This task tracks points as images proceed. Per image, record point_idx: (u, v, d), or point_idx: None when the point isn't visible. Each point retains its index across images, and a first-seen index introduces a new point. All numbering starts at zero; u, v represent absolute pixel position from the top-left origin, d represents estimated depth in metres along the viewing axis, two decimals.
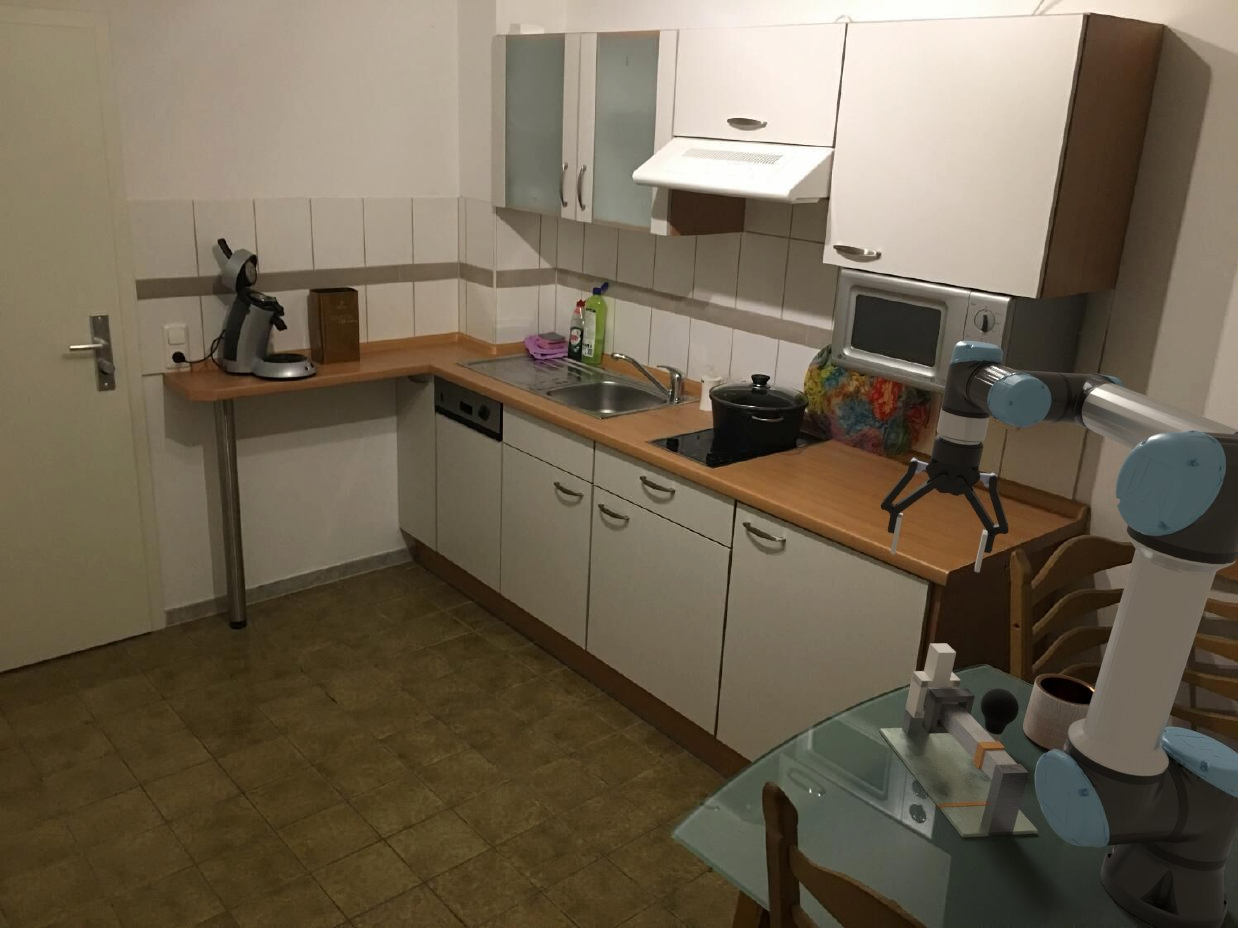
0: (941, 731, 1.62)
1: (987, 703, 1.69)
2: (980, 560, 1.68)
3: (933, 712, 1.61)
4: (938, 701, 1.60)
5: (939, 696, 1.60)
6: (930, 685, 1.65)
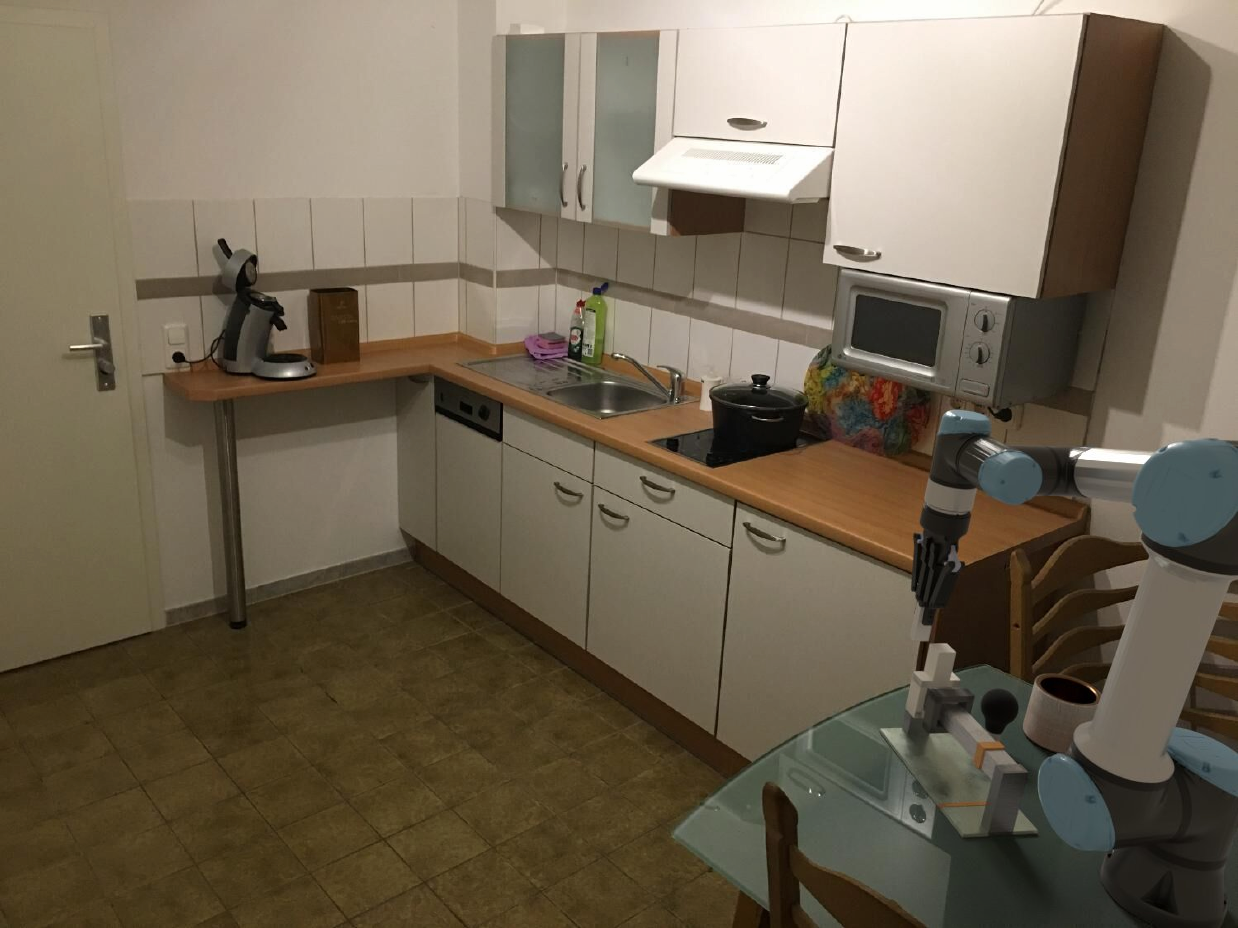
0: (941, 731, 1.62)
1: (987, 703, 1.69)
2: (915, 629, 1.71)
3: (933, 712, 1.61)
4: (938, 701, 1.60)
5: (939, 696, 1.60)
6: (930, 685, 1.65)
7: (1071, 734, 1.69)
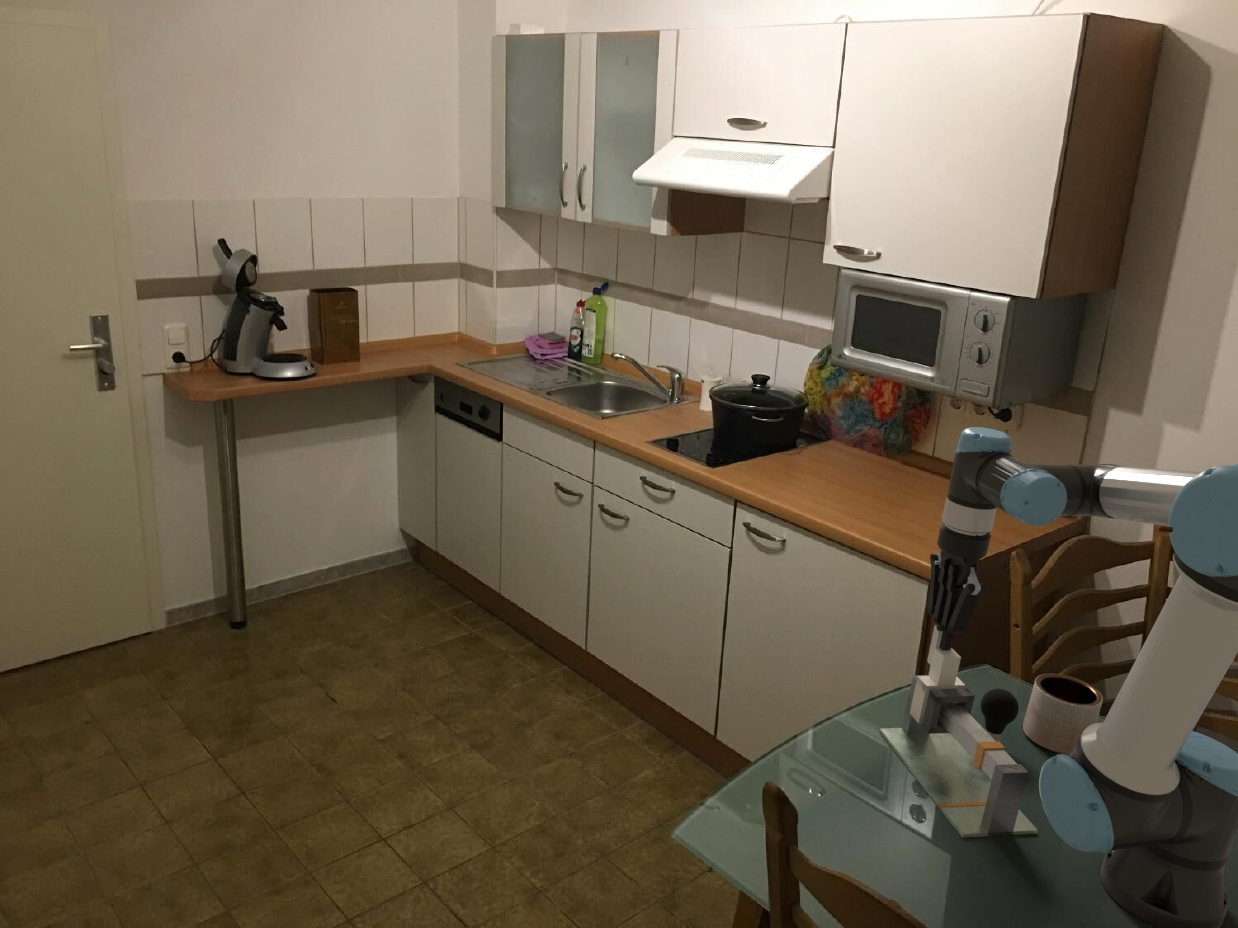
0: (941, 731, 1.62)
1: (987, 703, 1.69)
2: None
3: (933, 712, 1.61)
4: (938, 701, 1.60)
5: (939, 696, 1.60)
6: None
7: (1071, 733, 1.69)
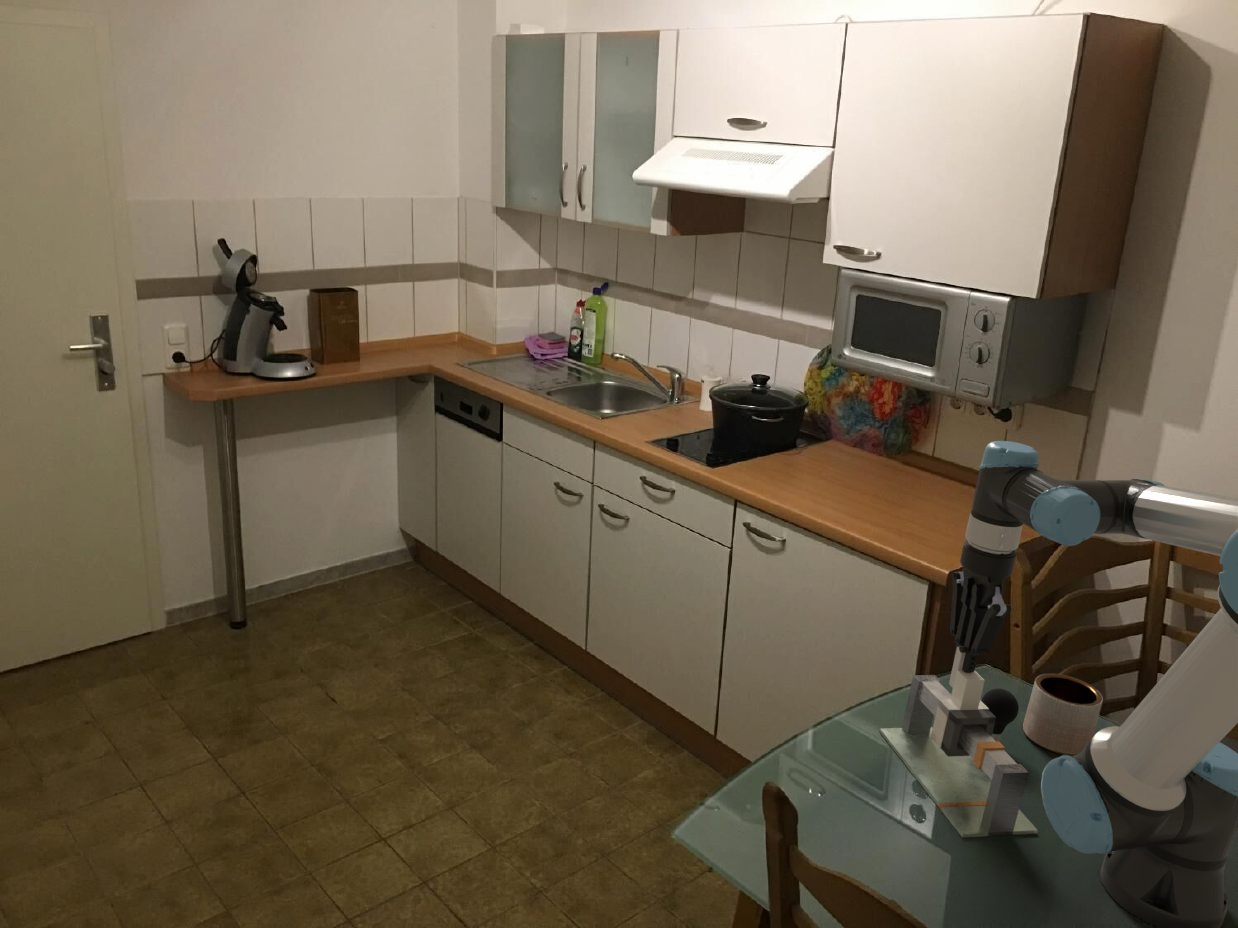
0: (961, 754, 1.57)
1: (987, 703, 1.69)
2: (955, 675, 1.59)
3: (952, 734, 1.55)
4: (958, 723, 1.55)
5: (959, 718, 1.55)
6: None
7: (1071, 733, 1.69)
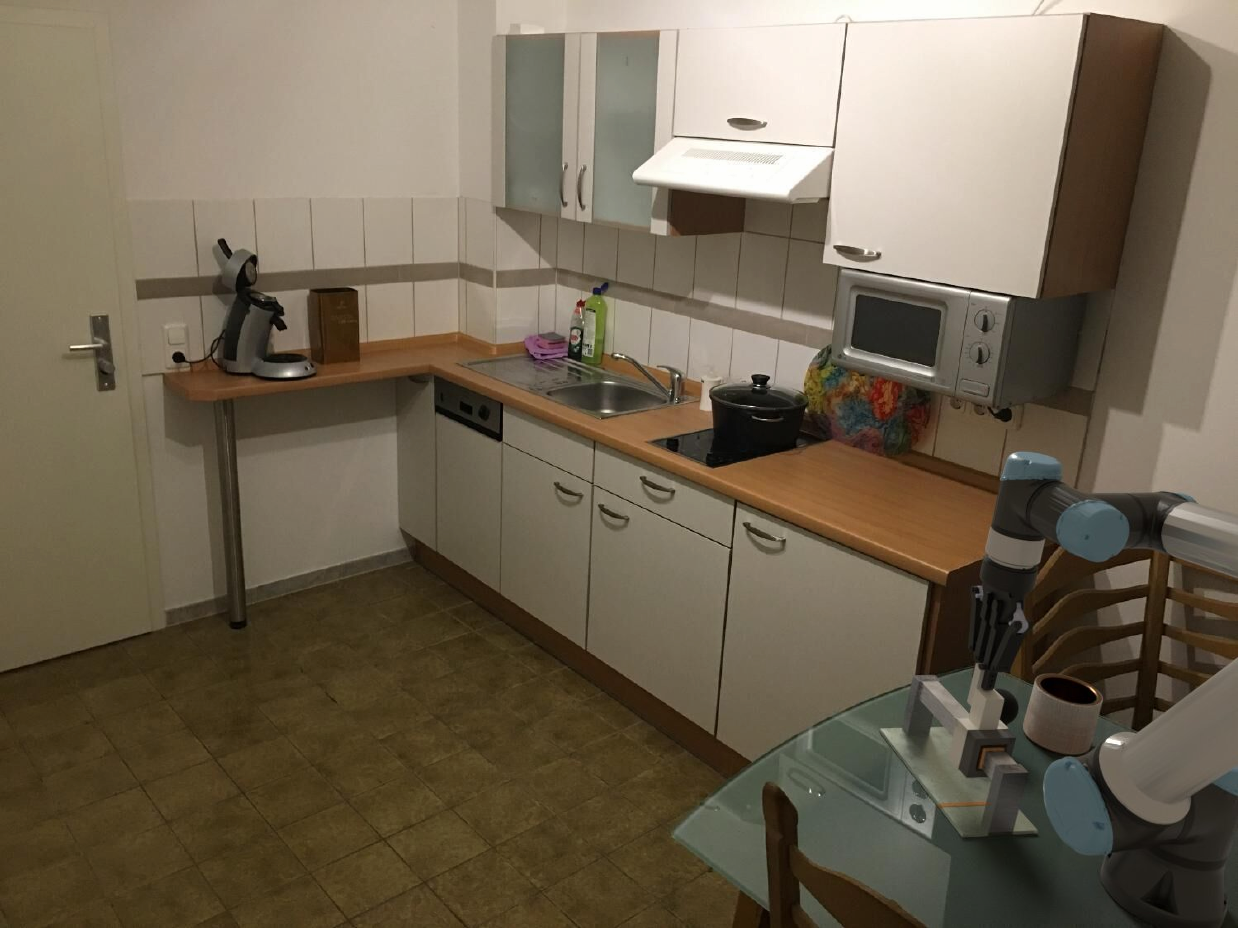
0: (980, 775, 1.52)
1: None
2: None
3: (971, 755, 1.50)
4: (977, 743, 1.50)
5: (978, 738, 1.50)
6: None
7: (1071, 733, 1.69)
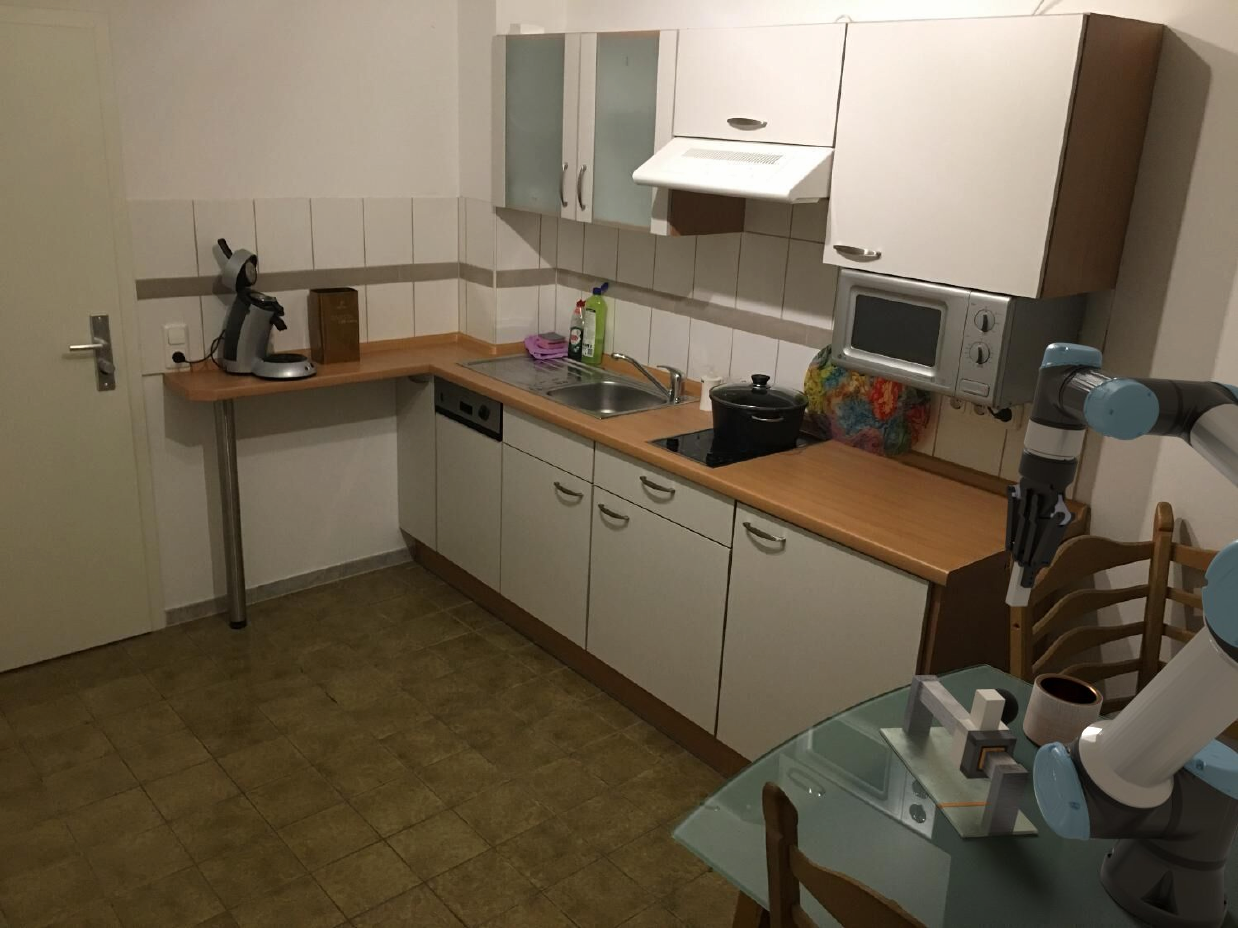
0: (981, 776, 1.52)
1: None
2: (1013, 592, 1.53)
3: (972, 756, 1.50)
4: (978, 744, 1.50)
5: (979, 739, 1.49)
6: None
7: (1071, 734, 1.69)
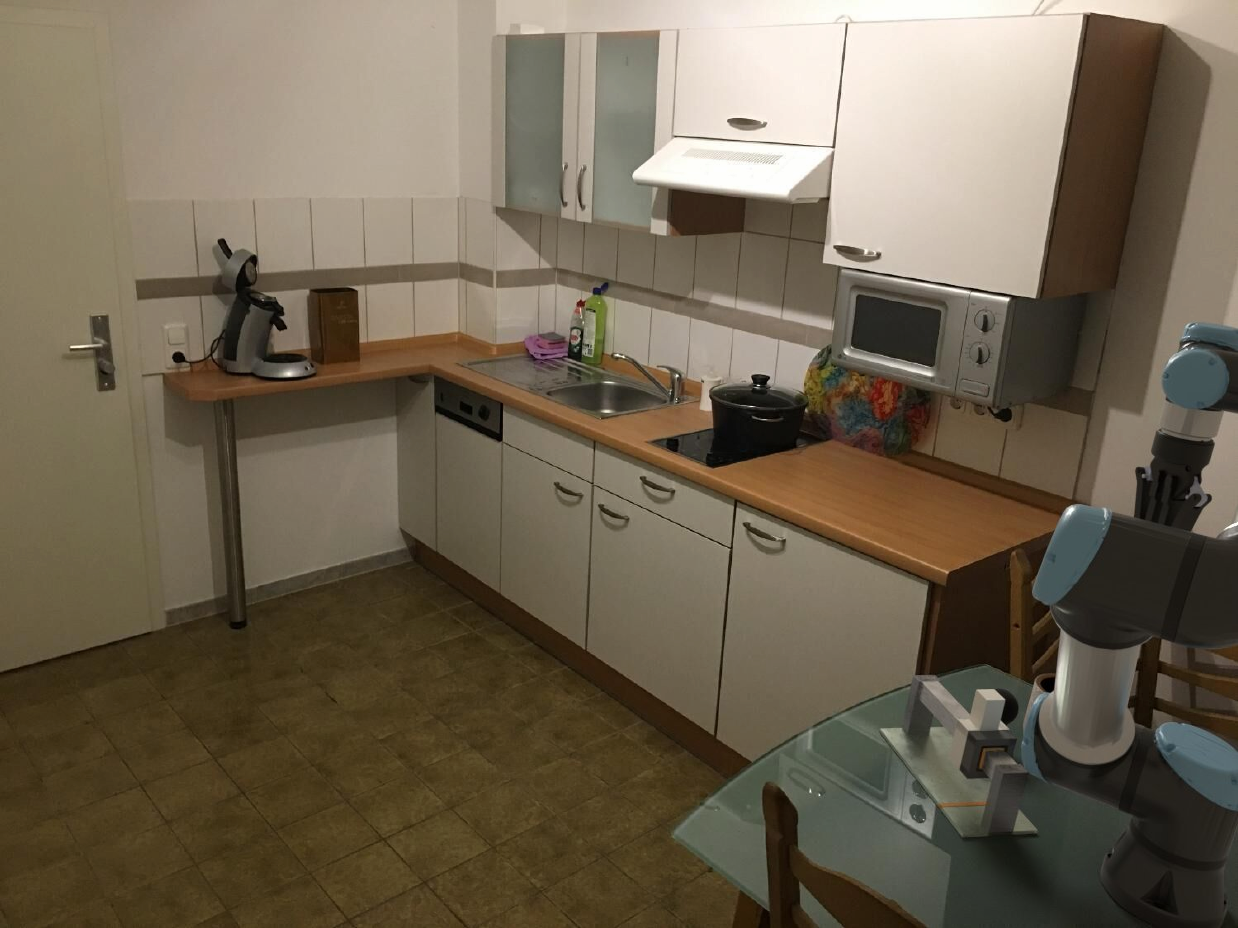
0: (981, 776, 1.52)
1: None
2: None
3: (972, 756, 1.50)
4: (978, 744, 1.50)
5: (979, 739, 1.49)
6: None
7: None
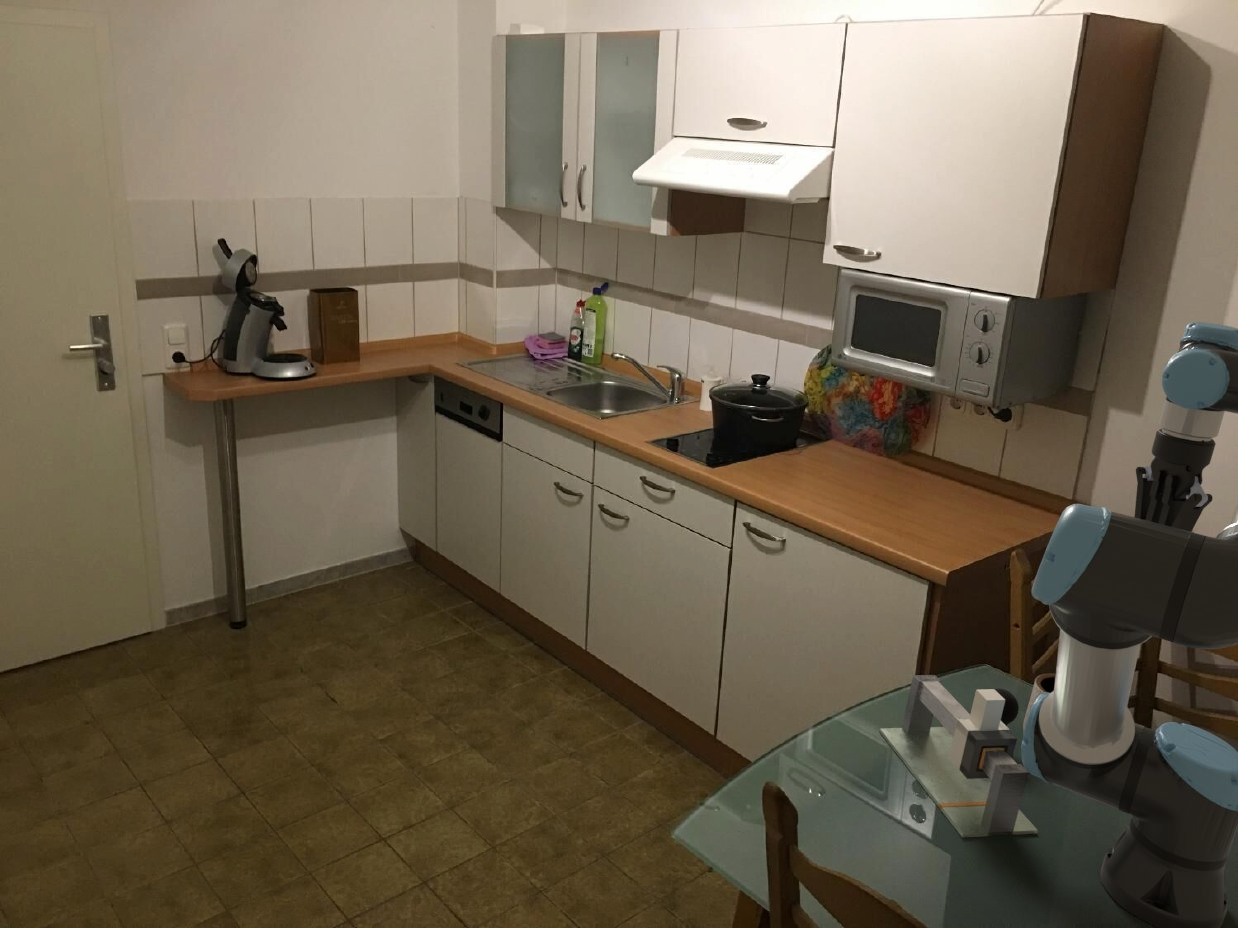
0: (981, 776, 1.52)
1: None
2: None
3: (972, 756, 1.50)
4: (978, 744, 1.50)
5: (979, 739, 1.49)
6: None
7: None
